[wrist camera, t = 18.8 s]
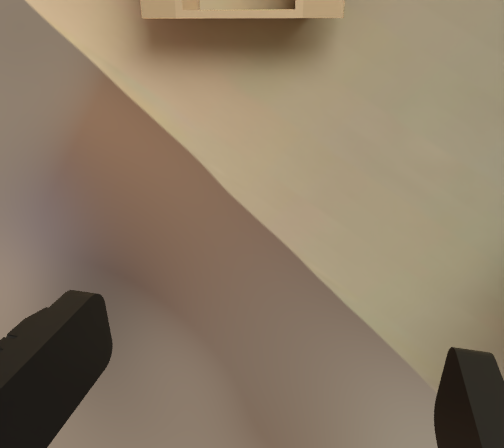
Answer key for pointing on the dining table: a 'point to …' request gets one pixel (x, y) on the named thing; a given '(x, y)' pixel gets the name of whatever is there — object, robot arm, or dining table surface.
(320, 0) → the light wood hollow frame
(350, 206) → the dining table surface
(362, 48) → the dining table surface
